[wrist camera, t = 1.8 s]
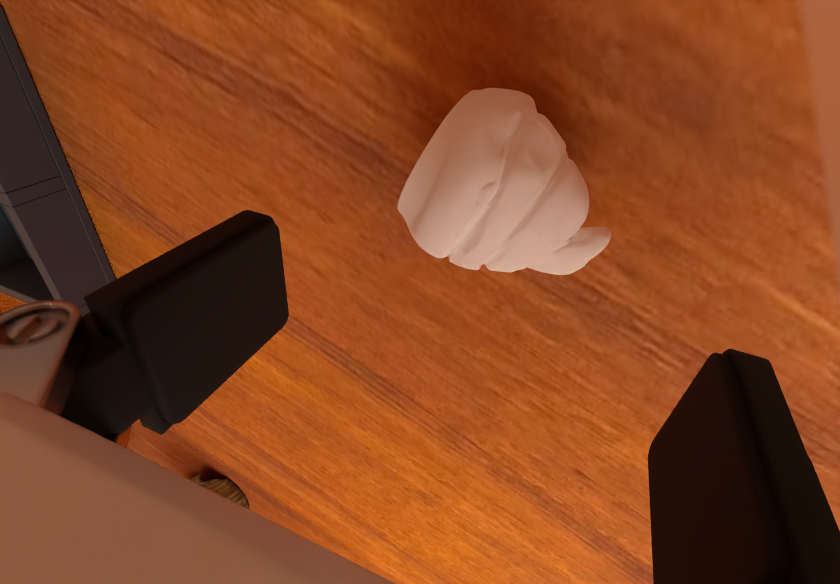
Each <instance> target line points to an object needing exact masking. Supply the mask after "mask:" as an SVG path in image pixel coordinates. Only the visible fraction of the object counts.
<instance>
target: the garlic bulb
mask: <svg viewBox="0 0 840 584" xmlns="http://www.w3.org/2000/svg"><path fill="white" fill-rule="evenodd" d="M588 210H589V193H588V189H587V185H586V183H585V181H584V179H583V177H582V175H581V173H580V171H579V169H578V168H577V167H576V164H575V163H574V162H573V161H572V160H571V159H568V154H567V152H566V144H565V142H564V140H563V139H562V138H561V136H560V135H559V134H558V132H557V131H556V129H555V128H554V126H553V125H552V124H551V122H550V121H549V120H548V118H546V117H545V116H544V115H542V114H539V113H537V110H536V106H535V102H534V100H533V98H532V97H531V96H529V95H527V94H525V93H523V92H520V91H516V90H510V89H500V88H485V89H482V90H471V91H470V92H468V93H467V94H466V95H465V96H464V97H463V98H462V99H461V100H460V101H459V102H458V103H457V104H456V105H455V106H454V107H453V108H452V110H451V111H450V112H449V113H448V115H447V116H446V117H445V119H444V120H443V122H442V123H441V124H440V126H439V127H438V129H437V130H436V132H435V133H434V135H433V136H432V138H431V139H430V141H429V143H428V144H427V146H426V148H425V149H424V151H423V153H422V154H421V156H420V158H419V159H418V161H417V163H416V165H415V166H414V168H413V170H412V172H411V174H410V176H409V178H408V180H407V182H406V184H405V186H404V188H403V190H402V193H401V196H400V199H399V202H398V211H399V212H400V213H401V214H402V216H403V218H404V219H405V221H406V223H407V225H408V228H409V231H410V233H411V235H412V237H413V238H414V240H415V241H416V243H417V244H418V245H419V246H420V247H421V248H422V249H423V250H424V251H426V252H427V253H429V254H430V255H432V256H434V257H436V258H445V257H447V256H449V261H450V262H451V263H453V264H455V265H457V266H460V267H463V268H467V269H471V270H479V269H480V267H481V265H483V264H485V266H486V267H487V269H489V270H491V271H500V272H514V271H516V270H521V269H524V268H526V267H528V268H530V269H533V270H536V271H540V272H544V273H550V274H555V275H568V274H571V273H573V272H575V271H577V270H579V269H581V268H582V267H584V266H585V265H586V264H587V262H588V261H589V260H590V259H592V258H593V257H595V256H596V255H598V254H599V253H600V252H601V251H602V250H603V249H604V248H605V247H606V246H607V244H608V243H609V241H610V238H611V232H610V229H609V228H608V227H605V226H598V227H581V225H582V224H583V223H584V222H585V220H586V217H587V214H588Z"/></svg>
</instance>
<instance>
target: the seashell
mask: <svg viewBox="0 0 840 584" xmlns="http://www.w3.org/2000/svg"><path fill="white" fill-rule="evenodd" d="M191 481H193V482H195V483H197V484H199V485H201V486H203V487H205V488H207V489H209V490H211V491H213V492H215V493H217V494H219V495H221V496H223V497H225V498H227V499H229V500H231V501H233V502H235V503H237V504H239V505H241V506H243V507H245V508H247V509H248V507H249V505H248V503H247V500H246V497H245V496H244V494H243V493H242V492H241V491H240V490H239V489H238V488H237V487H236V486H235V485H234V484H233V482H230V481H229V480H228V479H223V480H220V479H212V480H210V481H205V479H204V477H203V473H200V474H198V475H196V476H194V477H192V478H191Z"/></svg>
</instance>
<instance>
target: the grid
mask: <svg viewBox="0 0 840 584" xmlns="http://www.w3.org/2000/svg"><path fill="white" fill-rule="evenodd" d="M114 280H116V278H115V276H114V274H113V271H112V269H111V266H110V264H109V262H108V259H107V257H106V254H105V252H104V250H103V247H102V245H101V243H100V240H99V238H98V235H97V233H96V231H95V228H94V226H93V223H92V221H91V219H90V216H89V214H88V211H87V209H86V207H85V204H84V202H83V200H82V197H81V195H80V192H79V190H78V188H77V185H76V183H75V180H74V178H73V176H72V173H71V171H70V169H69V166H68V164H67V161H66V159H65V157H64V154H63V152H62V149H61V147H60V145H59V142H58V140H57V137H56V135H55V133H54V130H53V128H52V126H51V123H50V121H49V118H48V116H47V114H46V111H45V109H44V106H43V104H42V102H41V99H40V97H39V95H38V92H37V90H36V87H35V85H34V83H33V80H32V78H31V75H30V73H29V71H28V68H27V66H26V63H25V61H24V59H23V56H22V54H21V52H20V49H19V47H18V44H17V42H16V40H15V37H14V35H13V32H12V30H11V28H10V25H9V23H8V21H7V18H6V16H5V13H4V11H3V9H2V7H1V6H0V292H2V293H5V294H7V295H10V296H12V297H14V298H17V299H19V300H22V301H24V302H26V303H31V302H37V301H43V300H62V301H68V302H71V303H73V304H74V305H76V306H77V307H78V309H79V311H80V313H81V315H82V316H84V315H86V314H87V313H89V312H90V310H89V308H88V306H87V304H86V302H85V299H84V297H85V296H87V295H88V294H90V293H92V292H94V291H96V290H98V289H100V288H101V287H103V286H105V285H107V284H109V283H111V282H113V281H114Z"/></svg>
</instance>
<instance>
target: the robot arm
mask: <svg viewBox="0 0 840 584" xmlns="http://www.w3.org/2000/svg"><path fill="white" fill-rule="evenodd" d="M84 299H85V302H86V304H87V306H88V308H89V310H90V312H89V313H87V314H86V315H84V316H82V315H81V313H80V311H79V309H78V307H77V306H76V305H74V304H73V303H71V302H68V301H62V300H43V301H37V302H31V303H28V304H24V305H21V306H18V307H15V308H13V309H10V310H8V311H6V312H4V313H1V314H0V584H395V583H393V582H391V581H389V580H387V579H385V578H383V577H381V576H379V575H378V574H376V573H374V572H372V571H370V570H368V569H366V568H364V567H362V566H360V565H358V564H356V563H354V562H352V561H350V560H348V559H346V558H344V557H342V556H340V555H338V554H336V553H334V552H332V551H330V550H328V549H326V548H324V547H322V546H320V545H318V544H316V543H314V542H312V541H310V540H308V539H306V538H304V537H302V536H300V535H298V534H296V533H294V532H292V531H290V530H288V529H286V528H284V527H282V526H280V525H278V524H276V523H274V522H272V521H270V520H268V519H266V518H264V517H262V516H260V515H258V514H256V513H255V512H253V511H251V510H249V509H247V508H245V507H243V506H241V505H239V504H237V503H235V502H233V501H231V500H229V499H227V498H225V497H223V496H221V495H219V494H217V493H215V492H213V491H211V490H209V489H207V488H205V487H203V486H201V485H199V484H197V483H195V482H193V481H191V480H189V479H187V478H185V477H183V476H181V475H179V474H177V473H175V472H173V471H171V470H169V469H166V468H164V467H162V466H160V465H158V464H156V463H154V462H152V461H150V460H148V459H146V458H144V457H142V456H140V455H138V454H136V453H134V452H132V451H130V450H128V449H126V448H127V444H128V440H129V435H130V431H131V425H132V424H133V423H134V422H135V421H137V420H138V419H140V421H141V423H142V425H143V426H144V427H146V428H149V429H151V430H153V431H155V432H157V433H159V434H161V435H162V434H163V433H165V432H166V431H167V430H168V429H169V428H170V427H171V426H172V425H173V424H176V423H180V422H182V421H183V420H184V419H186V418H187V417H188V416H189V415H190V414H191V413H192V412H193V411H194V410H195V409H196V408H197V407H198V406H199V405H201V404H202V403H203V402H204V401H205V400H206V399H207V398H208V397H209V396H210V395H211V394H212V393H213V392H214V391H215V390H216V389H218V388H219V387H220V386H221V385H222V384H223V383H224V382H225V381H226V380H227V379H228V378H229V377H230V376H231V375H232V374H234V373H235V372H236V371H237V370H238V369H239V368H240V367H241V366H242V365H243V364H244V363H245V362H246V361H247V360H248V359H249V358H251V357H252V356H253V355H254V354H255V353H256V352H257V351H258V350H259V349H260V348H261V347H262V346H263V345H264V344H265V343H267V342H268V341H269V340H270V339H271V338H272V337H273V336H274V335H275V334H276V333H277V332H278V331H279V330H280V329H281V328H283V326H284V325H285V324H286V322H287V319H288V315H289V312H288V303H287V294H286V286H285V277H284V268H283V260H282V251H281V242H280V234H279V228H278V226H277V225H276V224H275V223H274V220H273V219H272V218H271V217H270V216H268V215H264V214H261V213H257V212H254V211H251V210H245V211H242V212H240V213H239V214H237V215H235V216H233V217H231V218H229V219H227V220H226V221H224V222H222V223H220V224H218V225H216V226H215V227H213V228H211V229H209V230H207V231H205V232H203V233H202V234H200V235H198V236H196V237H194V238H192V239H190V240H189V241H187V242H185V243H183V244H181V245H179V246H177V247H176V248H174V249H172V250H170V251H168V252H166V253H164V254H163V255H161V256H159V257H157V258H155V259H153V260H151V261H150V262H148V263H146V264H144V265H142V266H140V267H139V268H137V269H135V270H133V271H131V272H129V273H127V274H126V275H124V276H122V277H120V278H118V279H116V280H114V281H113V282H111V283H109V284H107V285H105V286H103V287H101V288H100V289H98V290H96V291H94V292H92V293H90V294H88V295H87V296H85V297H84ZM648 470H649V492H650V514H651V536H652V558H653V579H654V584H840V531H839V529H838V526H837V524H836V521H835V519H834V516H833V514H832V511H831V509H830V506H829V504H828V501H827V499H826V496H825V494H824V492H823V489H822V487H821V484H820V482H819V479H818V477H817V474H816V472H815V469H814V467H813V464H812V462H811V460H810V458H809V457H808V455H807V453H806V450H805V448H804V445H803V443H802V440H801V438H800V435H799V433H798V430H797V428H796V425H795V423H794V420H793V418H792V415H791V413H790V410H789V408H788V405H787V403H786V400H785V398H784V395H783V393H782V390H781V388H780V385H779V383H778V380H777V378H776V375H775V373H774V370H773V368H772V365H771V363H770V362H769V360H767V359H765V358H761V357H758V356H754V355H751V354H747V353H744V352H740V351H737V350H733V349H728V350H726V351H725V352H723V354H718V353H713V354H711V355H710V356H709V358H708V359H707V361H706V362H705V364H704V365H703V367H702V368H701V370H700V371H699V372H698V374H697V375H696V377H695V378H694V380H693V381H692V383H691V384H690V386H689V387H688V389H687V390H686V392H685V393H684V395H683V396H682V398H681V399H680V401H679V402H678V404H677V405H676V407H675V408H674V410H673V411H672V413H671V414H670V416H669V417H668V419H667V420H666V422H665V423H664V425H663V426H662V428H661V429H660V431H659V432H658V434H657V435H656V437H655V438H654V440H653V442H652V443H651V446H650V449H649V454H648Z"/></svg>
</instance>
